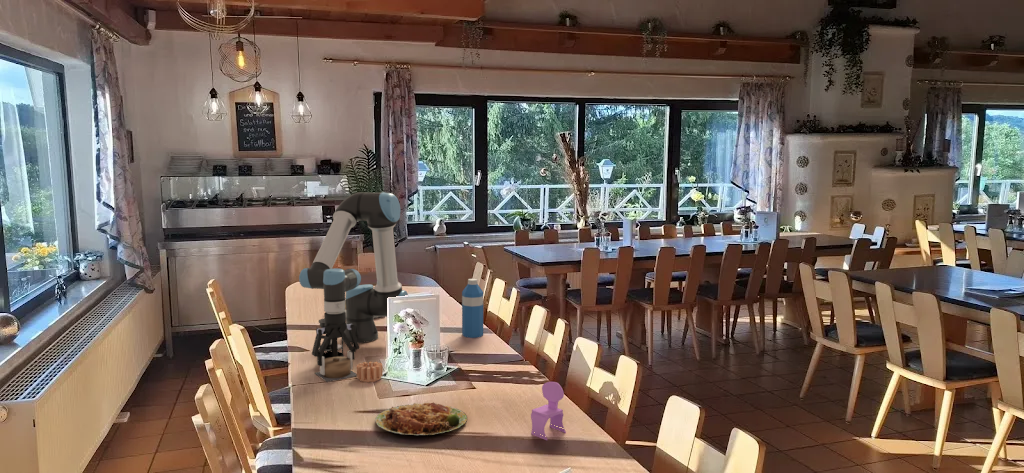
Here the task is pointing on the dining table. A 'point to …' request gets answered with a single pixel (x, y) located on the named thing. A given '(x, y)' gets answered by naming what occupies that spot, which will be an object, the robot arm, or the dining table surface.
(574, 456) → the dining table surface
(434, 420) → the rice dish
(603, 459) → the dining table surface
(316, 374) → the mat
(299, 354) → the dining table surface
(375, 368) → the orange ridged cylinder
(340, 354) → the french press
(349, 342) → the robot arm
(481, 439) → the dining table surface
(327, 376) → the tan squat cylinder
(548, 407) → the toy chair
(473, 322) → the water bottle
